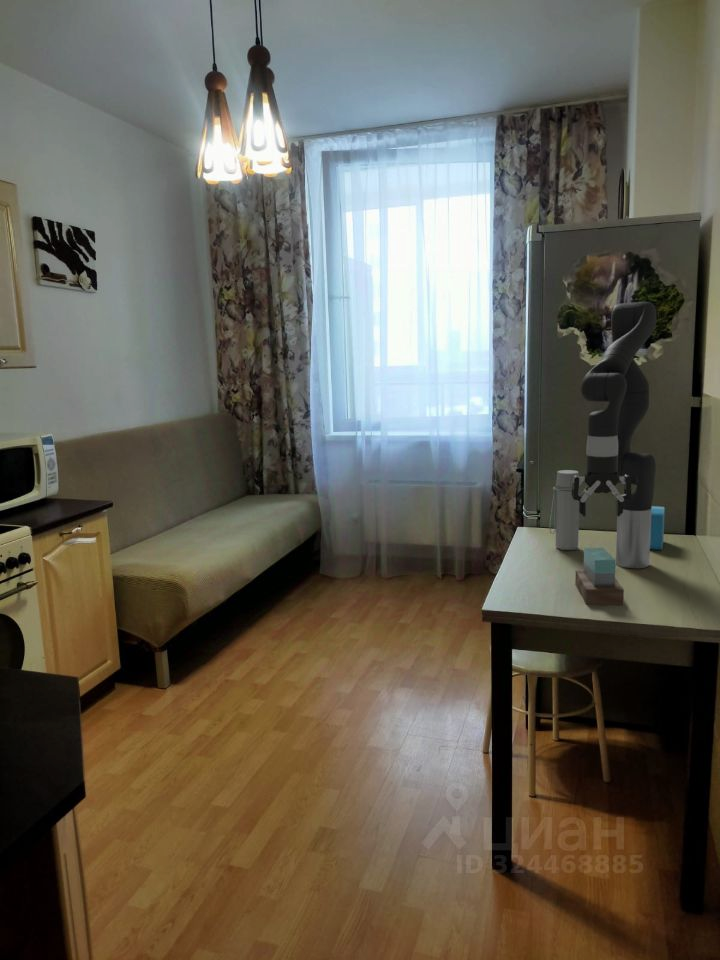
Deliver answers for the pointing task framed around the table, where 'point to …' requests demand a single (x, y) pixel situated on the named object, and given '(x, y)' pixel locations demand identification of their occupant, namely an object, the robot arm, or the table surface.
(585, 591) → the walnut stand
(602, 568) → the block
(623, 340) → the robot arm
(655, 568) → the table surface
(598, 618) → the table surface
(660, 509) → the data package
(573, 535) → the water bottle
